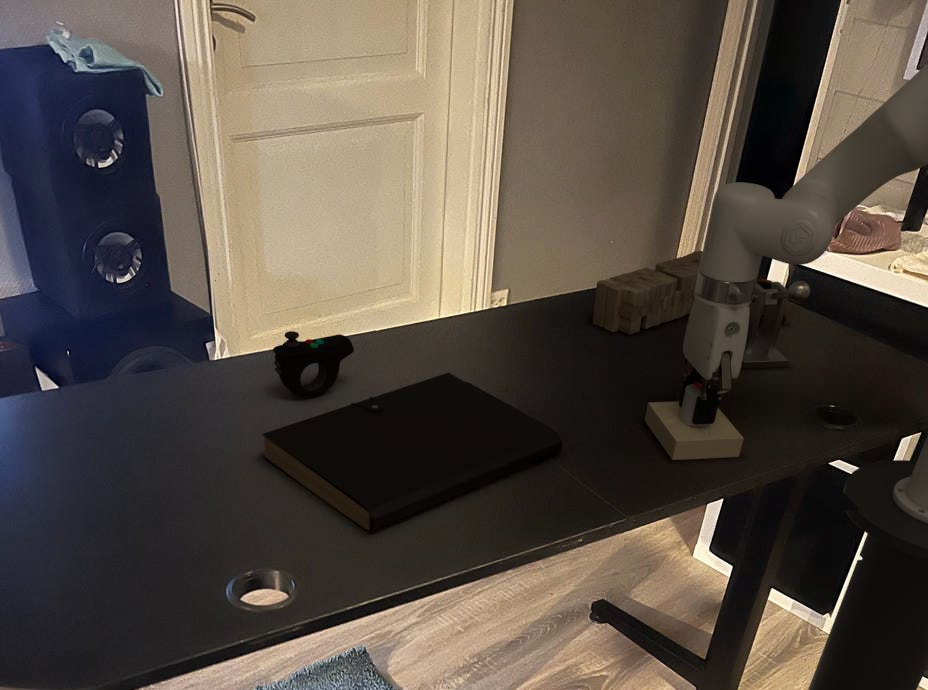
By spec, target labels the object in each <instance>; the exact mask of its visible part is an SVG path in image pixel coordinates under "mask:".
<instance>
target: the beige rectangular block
mask: <svg viewBox="0 0 928 690" xmlns="http://www.w3.org/2000/svg"><path fill="white" fill-rule="evenodd" d="M680 412H681V407H680V406H679V400H678V401H677V400H676V401H655V402H653V401H652V402H651V401H650V402H647V406H646V412H645V417H644V422H645V424H646V425H647V426H648V428H649V430H650V431H651V432H652V434H653V435H654V436H655V438H656V439H657V440H658V442H659V444H660V445H661V446H662V448H663V449H664V450H665V452H666V453H667V455H668V456H669V458H670V459H671V460H672V461H684V460H685V461H686V460H702V459H705V460H706V459H707V460H708V459H721V458H722V459H725V458H739V457H740V454H741V450H742V447H743V443H744V439H745V438H744V436H743V435H742V434H741V433H740V432H739V431H738V430H737V428H736V427H735V426H734V425H733V424H732V423H731V421H730V420H729V419H728V417H727V416H725V414H724V413H723V412H722V411H721V409H720V408H719V407H718V409H717V413H716V417H715V421H714V423H713V424H708V425H706V426H692V425H688V424H686V423H684V422H682V421H681V420H680Z"/></svg>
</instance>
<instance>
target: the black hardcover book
mask: <svg viewBox="0 0 928 690" xmlns="http://www.w3.org/2000/svg"><path fill="white" fill-rule="evenodd" d="M262 436H263V441H264V442H263V443H264V456H263V458H264V459H265V460H267V462H270V464H273V465H274V466H275V467H277V468H278V469H279V470H280V471H282V472H283V473H285V474H286V475H288V476H289V477H290V478H292V479H293V480H294V481H296V482H297V483H299V484H300V485H302V486H303V487H304V488H305V489H306V490H308V491H310V492H311V493H312V494H314V495H315V496H317V497H318V498H319V499H321V500H322V501H323V502H325V503H326V504H328V506H330V507H331V508H333V509H334V510H336V511H337V512H339V513H340V514H341V515H343V516H344V517H345V518H347V519H348V520H350V521H351V522H352V523H353V524H355V525H356V526H358V527H359V528H361V529H362V530H363V531H364V532H372V531H374V530H377V529H379V528H382V527H385V526H387V525H389V524H391V523H394V522H396V521H399V520H400V519H403V518H406V517H408V516H410V515H413V514H415V513H418V512H420V511H422V510H424V509H427V508H429V507H432V506H434V505H437V504H438V503H441V502H443V501H446V500H448V499H450V498H452V497H455V496H458V495H460V494H463V493H465V492H467V491H470V490H473V489H474V488H477V487H479V486H481V485H483V484H486V483H489V482H491V481H493V480H495V479H498V478H500V477H503V476H505V475H507V474H510V473H512V472H515V471H517V470H519V469H523V468H524V467H526V466H529V465H531V464H534V463H536V462H538V461H540V460H541V461H542V460H544V459H545V458H548V457H550V456H553V455H555V454H557V453H559V452H560V451H561V450H562V448H563V440H562V438H561V436H560V434H559V432H557V431H556V430H554V428H552V427H550V426H549V425H547V424H546V423H543V422H541V421H539V420H538V419H536V418H534V417H532V416H530V415H529V414H527V413H525V412H523V411H522V410H520V409H518V408H516V407H514V406H512V405H510V404H509V403H507V402H505V401H503V400H501V399H499V398H498V397H496V396H494V395H492V394H491V393H489V392H487V391H485V390H483V389H481V388H479V387H478V386H476V385H474V384H472V383H470V382H468V381H464V380H463V379H461V378H460V377H458V376H455V375H454V374H452V373H450V372H445V373H442V374H440V375H437V376H433V377H431V378H428V379H424V380H421V381H418V382H415V383H412V384H410V385H407V386H403V387H400V388H397V389H394V390H391V391H388V392H385V393H382V394H379V395H376V396H373V397H372V396H370V397H369V398H367V399H366V398H365V399H364V400H363V399H362V400H361V401H358V402H351V403H350V404H349V405H348V404H347V405H346V406H342V407H340V408H336V409H332V410H331V411H327V412H323V413H321V414H318V415H315V416H312V417H310V418H306V419H303V420H300V421H296V422H294V423H291V424H287V425H284V426H281V427H279V428H276V429H273V430H270V431H267V432H264V433H262Z"/></svg>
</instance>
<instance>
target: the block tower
mask: <svg viewBox="0 0 928 690" xmlns="http://www.w3.org/2000/svg"><path fill="white" fill-rule="evenodd" d="M702 252H703V250H697V251H695V250H694V251H692V252H691V253H688V254H686V255H684V256H679V257H675V258H673V259H672V258H671V259H668V260H665V261H662V262H657V263H656V264H655V268H654V269H653V268H650V267H647V266H645V267H643V268H640V269H636V270H633V271H631V272H627V273H622V274H620V275H614V276H612V277H609V278H606V279H601V280H598V281H597V282H596V286H595V287H596V288H595V298H594V307H593V315H592V325H595V326H598V327H599V328H603V329H604V330H607V331H608V332H612V333H616V332H618V331H620V332H622V333H624V334H626V335H628V336H631V335H633V334H636V333H639V332H640V331H641V329H643V330H647V329H649V328H652V327H657V326H659V325H661V324H664V323H668V322H670V321H674V320H676V319H680V318H682V317H685V316H688V315H690V312H691V308H692V305H693V302H694V299H695V297H694V290H695V285H696V280H697V275H698V271H699V266H700V261H701V257H702Z"/></svg>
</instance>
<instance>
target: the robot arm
mask: <svg viewBox="0 0 928 690" xmlns="http://www.w3.org/2000/svg"><path fill="white" fill-rule="evenodd" d="M926 165H928V62H927V63H926V64H925V65H924V66H923V67H922V68H921V69H920V70H918V71H917V73H916V74H914V75H913V76H912V77H911V78H910V79H909V80H907V82H905V84H903V85H902V86H901V87H899V89H898V90H897V91H895V93H893V95H891V96H890V97H889V98H888V99H887V100H886V101H885V102H883V103H882V104H881V105H880V106H879V107H878V108H877V109H876V110H875V111H873V112H871V114H870V115H868V117H867V118H866V119H865V120H864V121H863V122H862V123H861V124H859V126H858V127H856V128H855V129H854V130H853V131H852V132H851V133H849V135H847V136H846V137H845V138H844V139H843V140H841V141H840V142H839V143H837V145H835V146H834V147H833V148H832V149H831V150H830V151H829V152H828V153H826V154H825V156H823V157H822V158H821V159H820V160H819V161H817V163H816V164H814V166H813V167H811V169H809V170H808V171H807V172H806V173H805V174H804V175H803V176H802V177H801V178H800V179H798V180H797V182H795V183H794V184H793V185H792V186H791V187H790V188H789V190H787V191H786V192H785V194H784V195H783V196H782V198H781V199H780V198H776V197H775V195H774V192H773V191H772V190H771V189H770V188H768V187H766V186H763V185H760V184H756V183H752V182H744V181H743V182H739V181H737V182H729V183H725V184H723V185H721V186H720V187H718V188H717V190H716V191H715V193H714V196H713V199H712V203H711V209H710V213H709V218H708V223H707V228H706V233H705V238H704V242H703V247H702V251H703V252H702V257H701V261H700V266H699V271H698V275H697V280H696V285H695V290H694V297H695V299H694V302H693V305H692V308H691V312H690V314H689V316H688V320H687V324H686V328H685V332H684V338H683V343H682V353H683V355H684V357H685V359H684V363H685V368H684V370H683V375H682V376H683V381H682V386H681V391H680V396H679V400H678V401H679V406H680V407H682V403H683V398H684V393H685V389H686V387H687V386H688V385H690V384H694V382H699V383H700V384H702V385H701V394H700V397H697V400H696V404H695V409H694V413H693V418H692V423H693V424H694V425H699V424H713V423H714V421H715V417H716V413H717V409H718V408H719V404H720V401H721V400H722V399H723V395H724V394H726V393H728V392H730V391H731V390H732V380H737V379H738V377H739V376H740V372H741V369H742V367H741V364H742V360H743V355H744V350H745V344H746V338H747V332H748V324H749V310H750V308H749V306H748V305H750V303H751V300H752V296H753V292H754V288H755V284H756V280H757V279H758V276H759V273H760V268H761V264H762V260H763V257H765V258H769V259H772V260H775V261H777V262H780V263H783V264H788V265H792V266H802V265H803V266H804V265H807V264H810V263H813V262H815V261H816V260H818V259H819V258H820V257H822V256H823V255H824V254H825V253H826V251H827V250H828V248H829V247H830V245H831V242H832V239H833V235H834V232H835V228H836V226H837V225H838V223H840V222H841V221H842V220H843V219H845V217H846V216H848V214H850V213H851V212H852V211H853V210H854V209H855V208H857V207H858V206H859V205H860V204H861V203H862V202H865V200H866V199H867V198H868V197H869V196H871V195H873V193H875V192H876V191H877V190H879V189H880V188H881V187H883V186H884V185H886V184H887V183H889V182H890V181H892V180H894V179H896V178H898V177H901V176H902V175H905V174H909V173H911V172H915V171H917V170H919V169H921V168H923V167H925V166H926ZM713 373H717V374H713ZM710 382H716V384H712V385H710ZM709 386H711V387H710V388H709V389H708V387H709ZM916 461H917V463H916V466H915V468H914V471H913V473H912V476H911V477H907V478H904V479H902V480H900V481H899V482H897V483H896V485H895V486H894V489H893V492H892V498H893V500H894V502H895V503H896V504H897V506H898V507H899V508H900V509H901V510H903V511H904V512H905V513H907V514H908V515H910V516H912V517H914V518H916V519H918V520H920V521H922V522H925V523H928V434H927V435H926V438H925V440H924V443H923V445H922V448H921V451H920V453H919V455H918V458H917V460H916Z"/></svg>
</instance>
